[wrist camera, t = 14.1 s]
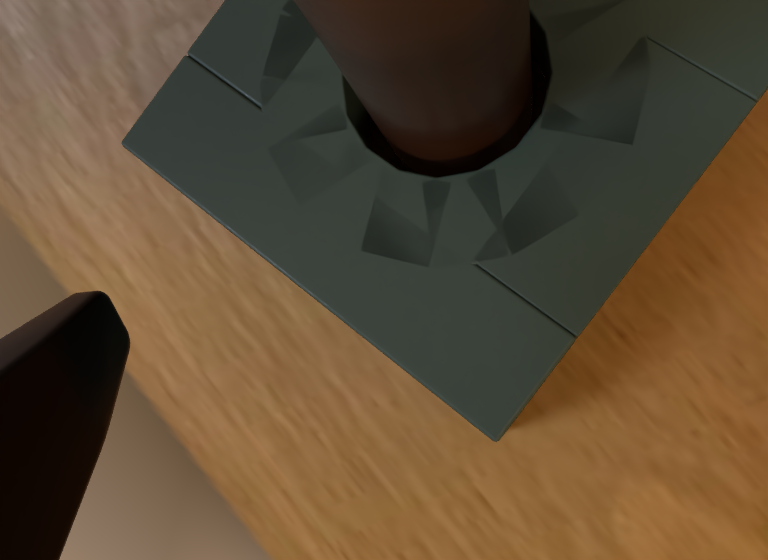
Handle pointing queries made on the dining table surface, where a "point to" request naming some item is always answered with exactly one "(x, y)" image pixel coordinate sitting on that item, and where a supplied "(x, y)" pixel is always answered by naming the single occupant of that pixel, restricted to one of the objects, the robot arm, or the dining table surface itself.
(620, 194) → the board
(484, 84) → the dowel
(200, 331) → the dining table surface
